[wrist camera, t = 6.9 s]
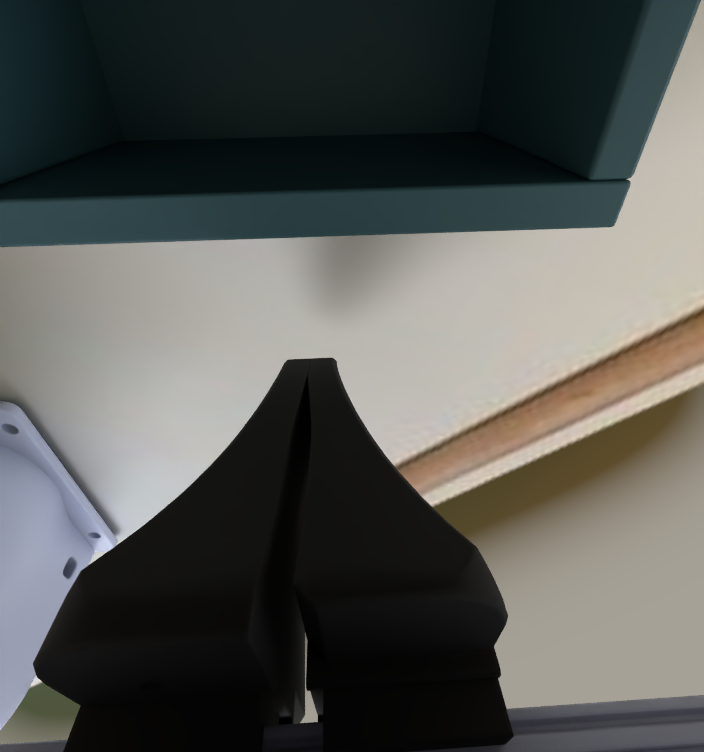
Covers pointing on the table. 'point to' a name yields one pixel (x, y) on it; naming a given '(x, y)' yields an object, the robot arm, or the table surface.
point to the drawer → (324, 115)
